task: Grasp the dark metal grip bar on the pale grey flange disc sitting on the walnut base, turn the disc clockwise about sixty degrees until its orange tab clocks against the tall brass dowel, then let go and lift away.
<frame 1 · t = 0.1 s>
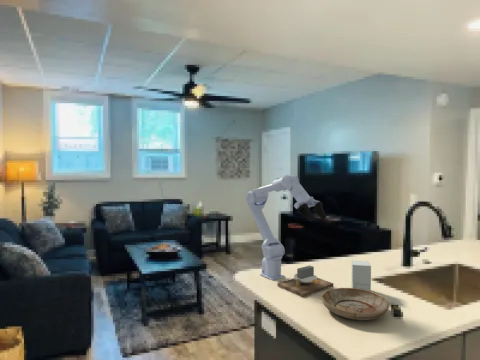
hand: (318, 219, 136), 32 cm above the worktop, tool tilted 50°, fingers open, 7 cm apart
walnut base: (305, 286, 147), on the worktop
ceramic bowl: (354, 312, 122), on the worktop
supplement box: (360, 292, 141), on the worktop
flange disc: (307, 273, 146), point 6 cm above the worktop, hinge at 0.0°
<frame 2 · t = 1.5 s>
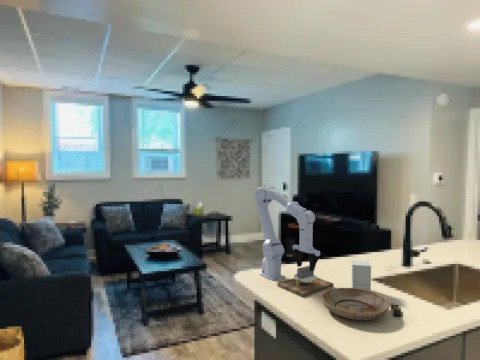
hand: (305, 268, 147), 8 cm above the worktop, tool pointing down, fingers open, 7 cm apart
nothing on the worktop moved.
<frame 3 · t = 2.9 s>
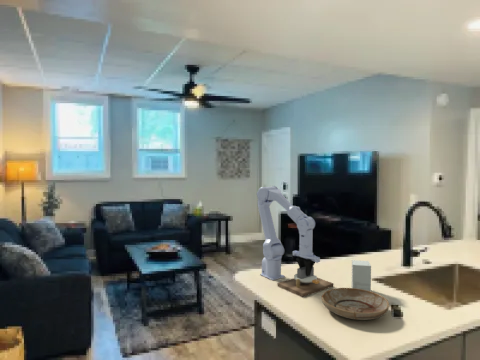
hand: (305, 274, 147), 5 cm above the worktop, tool pointing down, fingers closed on flange disc, 2 cm apart
flange disc: (307, 273, 146), point 6 cm above the worktop, hinge at 0.0°, touching gripper
everything else where it was.
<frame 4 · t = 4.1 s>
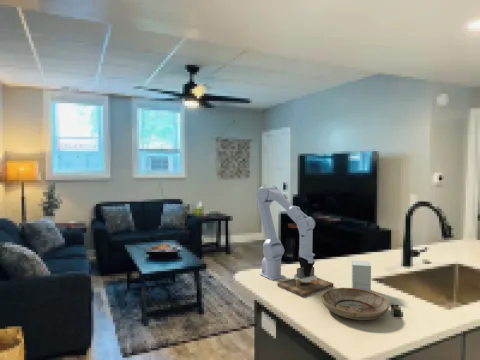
hand: (305, 274, 147), 5 cm above the worktop, tool pointing down, fingers closed on flange disc, 4 cm apart
flange disc: (307, 273, 146), point 6 cm above the worktop, hinge at -6.3°, touching gripper
everything else where it was.
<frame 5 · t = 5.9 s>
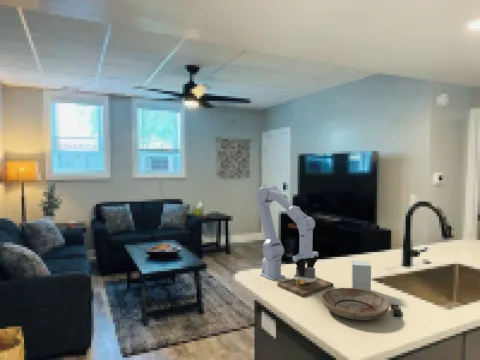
hand: (305, 274, 147), 5 cm above the worktop, tool pointing down, fingers closed on flange disc, 4 cm apart
flange disc: (304, 273, 146), point 6 cm above the worktop, hinge at -60.9°, touching gripper
everything else where it was.
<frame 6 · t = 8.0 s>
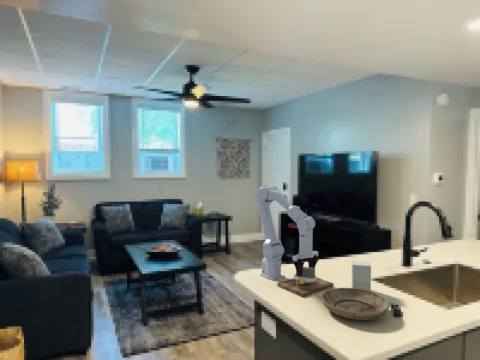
hand: (305, 274, 147), 6 cm above the worktop, tool pointing down, fingers open, 7 cm apart
flange disc: (304, 273, 146), point 6 cm above the worktop, hinge at -61.2°, touching walnut base
everything else where it was.
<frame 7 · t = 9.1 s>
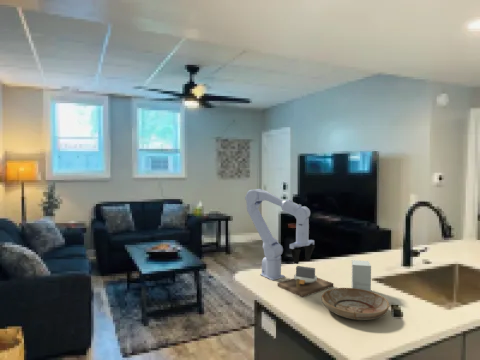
hand: (302, 261, 153), 9 cm above the worktop, tool pointing down, fingers open, 7 cm apart
nothing on the worktop moved.
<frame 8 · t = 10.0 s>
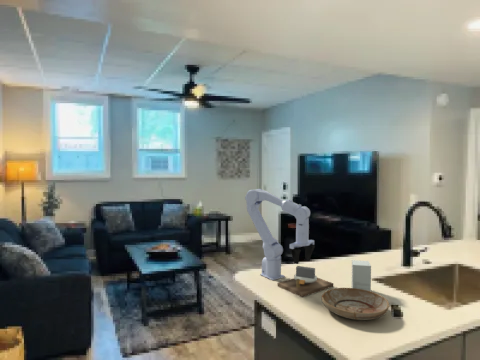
hand: (302, 261, 153), 9 cm above the worktop, tool pointing down, fingers open, 7 cm apart
nothing on the worktop moved.
at the end: flange disc at -61° (first picture: +0°); the gripper is holding nothing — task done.
